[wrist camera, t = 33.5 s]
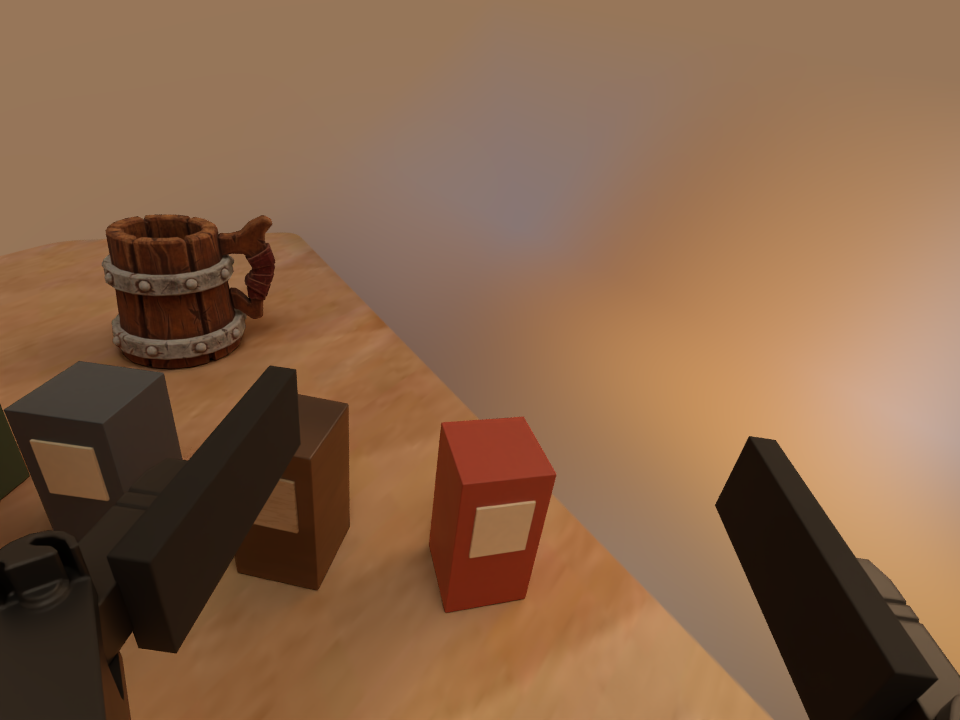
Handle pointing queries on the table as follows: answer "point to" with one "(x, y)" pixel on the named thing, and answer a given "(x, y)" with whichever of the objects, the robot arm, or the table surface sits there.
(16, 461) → the line block
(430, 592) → the table surface
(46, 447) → the line block
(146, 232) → the mug
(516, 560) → the red box
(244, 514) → the robot arm
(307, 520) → the line block
